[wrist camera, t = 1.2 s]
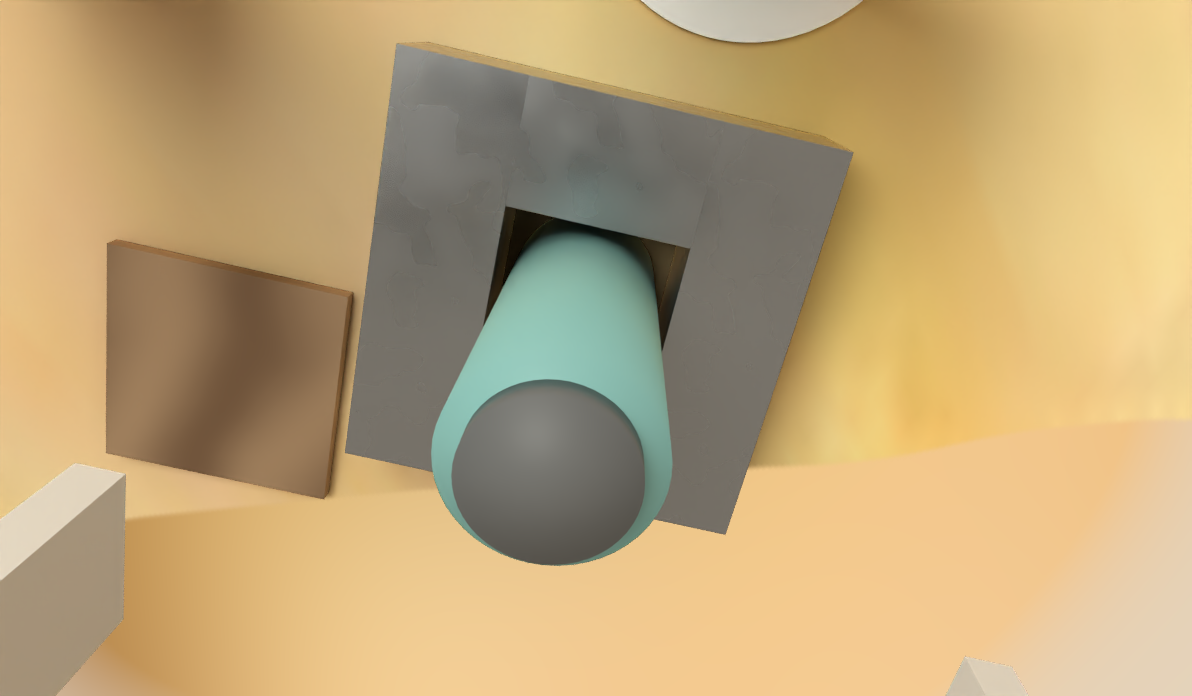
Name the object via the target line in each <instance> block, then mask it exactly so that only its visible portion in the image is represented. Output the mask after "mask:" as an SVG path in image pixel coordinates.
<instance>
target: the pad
mask: <svg viewBox="0 0 1192 696" xmlns="http://www.w3.org/2000/svg"><path fill="white" fill-rule="evenodd" d="M352 296H353V292H349V291H344V290H340V289H335V288H331V287H326V286H322V285H317V284H313V283H309V282H304V281H300V280H295V279H291V278H286V277H282V276H277V275H273V274H268V273H264V272H259V271H255V270H250V269H246V268H242V267H237V266H233V265H228V264H224V263H219V262H215V261H210V260H206V259H201V258H197V257H192V256H188V255H184V254H179V253H175V252H170V251H166V250H161V249H157V248H152V247H148V246H143V245H139V244H134V243H130V242H125V241H121V240H114V241H112V242H109V243H107V369H106V453H108V454H113V455H118V456H122V457H127V458H132V459H136V460H141V461H146V462H151V463H155V464H160V465H165V466H169V467H174V468H179V469H184V470H188V471H193V472H198V473H202V474H207V475H212V476H217V477H221V478H226V479H231V480H235V481H240V482H245V483H250V484H254V485H259V486H264V487H268V488H273V489H278V490H283V491H287V492H292V493H297V494H301V495H306V496H311V497H316V498H320V499H324V498H325V497H326V495H327V494H328V492H329V487H330V478H331V470H332V462H333V453H334V445H335V437H336V429H337V420H338V412H339V404H340V395H341V387H342V379H343V371H344V362H345V354H346V346H347V337H348V329H349V321H350V313H351V304H352Z"/></svg>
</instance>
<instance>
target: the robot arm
mask: <svg viewBox="0 0 1192 696" xmlns="http://www.w3.org/2000/svg"><path fill="white" fill-rule="evenodd" d="M125 487H126V474H124V473H119V472H115V471H110V470H106V469H101V468H96V467H92V466H87V465H83V464H78V463H74V464H73V465H71V466H70V467H69V468H67V469H66V470H65V471H63V472H62V473H61V474H59V475H58V476H57V477H55V478H54V479H53V480H51V481H50V482H49V483H47V484H46V485H45V486H44V487H42V488H41V489H40V490H38V491H37V492H36V493H34V494H33V495H32V496H30V497H29V498H28V499H26V500H25V501H24V502H22V503H21V504H20V505H18V506H17V507H16V508H14V509H13V510H12V511H11V512H9V513H8V514H7V515H5V516H4V517H3V518H1V519H0V696H56V695H57V694H58V693H59V691H60V690H61V689H62V688H63V687H64V686H65V685H66V683H67V682H68V681H69V680H70V679H71V678H72V677H73V676H74V674H75V673H76V672H77V671H78V670H79V669H80V668H81V666H82V665H83V664H84V663H85V662H86V661H87V660H88V658H89V657H90V656H91V655H92V654H93V653H94V652H95V651H96V649H97V648H98V647H99V646H100V645H101V644H102V643H103V642H104V640H105V639H106V638H107V637H108V636H109V634H111V632H112V631H113V630H114V629H115V628H116V627H117V626H118V625H119V623H120V622H121V621H122V620H123V610H124V609H123V608H124V548H125V547H124V546H125ZM946 696H1029V694H1028V693H1027V691H1026V689H1025V688H1024V686H1023V685H1022V683H1021V681H1020V679H1019V678H1018V676H1017V674H1016V673H1015V671H1014V669H1013V667H1011V666H1007V665H1002V664H997V663H993V662H988V661H984V660H979V659H975V658H970V657H964V659H963V661H962V663H961V665H960V667H959V669H958V671H957V673H956V676H955V678H954V679H953V682H952V684H951V685H950V688H949V690H948V692H947V694H946Z"/></svg>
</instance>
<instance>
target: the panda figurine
mask: <svg viewBox="0 0 1192 696" xmlns="http://www.w3.org/2000/svg"><path fill="white" fill-rule="evenodd" d="M641 1H642V2H643V3H644V4H646V5H647V6H648V7H649V8H650V9H651V10H653V11H654V12H656V13H657V14H659V15H660V16H662V17H663V18H664V19H666V20H668V21H670V22H672V23H673V24H675V25H677V26H679V27H681V28H683V29H686V30H688V31H690V32H693V33H696V34H699V35H702V36H705V37H709V38H713V39H718V40H723V41H732V42H766V41H775V40H780V39H785V38H790V37H794V36H797V35H800V34H803V33H806V32H809V31H812V30H814V29H816V28H818V27H821V26H823V25H825V24H827V23H829V22H831V21H833V20H835V19H836V18H838V17H840V16H842V15H843V14H845V13H846V12H848V11H849V10H851V9H852V8H853V7H855V6H856V5H858V4H859V3H860V2H862V1H863V0H641Z"/></svg>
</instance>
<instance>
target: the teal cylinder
mask: <svg viewBox="0 0 1192 696" xmlns="http://www.w3.org/2000/svg"><path fill="white" fill-rule="evenodd" d="M431 459H432V470H433V475H434V479H435V483H436V485H437V488H438V491H439V494H440V496H441V498H442V500H443V502H444V504H445V505H446V507H447V509H448V510H449V511H450V513H451V514H452V516H453V517H454V518H455V520H456V521H457V522H458V523H459V524H460V525H461V526H462V527H463V528H464V529H465V530H466V531H467V532H468V533H469V534H470V535H472V536H473V537H474V538H475V539H477V540H478V541H480V542H481V543H482V544H484V545H485V546H487V547H489V548H491V549H493V550H495V551H497V552H498V553H500V554H503V555H505V556H508V557H511V558H513V559H516V560H520V561H524V562H528V563H534V564H540V565H554V566H561V565H574V564H579V563H585V562H589V561H593V560H596V559H599V558H602V557H605V556H607V555H609V554H612V553H614V552H616V551H618V550H619V549H621V548H623V547H625V546H626V545H628V544H629V543H630V542H631V541H633V540H634V539H636V538H637V537H638V536H639V535H640V534H641V533H642V532H643V531H644V530H645V529H646V528H647V527H648V526H649V525H650V524H651V522H652V521H653V520H654V518H655V517H656V516H657V514H658V512H659V511H660V509H661V507H662V505H663V503H664V501H665V498H666V496H667V493H668V490H669V486H670V482H671V477H672V463H673V462H672V450H671V440H670V430H669V420H668V410H667V400H666V390H665V380H664V370H663V360H662V351H661V341H660V331H659V321H658V311H657V301H656V291H655V281H654V271H653V266H652V261H651V259H650V256H649V253H648V251H647V249H646V247H645V245H644V244H643V242H642V241H641V240H640V238H639V237H638V236H633V235H629V234H625V233H620V232H616V231H612V230H607V229H603V228H599V227H594V226H590V225H586V224H581V223H577V222H573V221H568V220H564V219H560V218H553V219H551V220H549V221H548V222H546V223H544V224H543V225H542V226H540V227H539V228H538V229H537V230H536V231H535V232H534V233H533V234H532V235H531V236H530V237H529V239H528V240H527V241H526V243H525V245H524V246H523V248H522V250H521V252H520V254H519V256H518V258H517V260H516V262H515V264H514V266H513V268H512V270H511V272H510V274H509V276H508V278H507V280H506V282H505V284H504V286H503V288H502V290H501V293H500V295H499V297H498V299H497V301H496V303H495V305H494V307H493V309H492V311H491V313H490V315H489V317H488V319H487V321H486V323H485V325H484V327H483V329H482V331H481V333H480V335H479V337H478V339H477V341H476V343H475V345H474V347H473V349H472V351H471V353H470V355H469V357H468V359H467V361H466V363H465V365H464V367H463V369H462V371H461V373H460V375H459V377H458V379H457V381H456V383H455V385H454V387H453V389H452V391H451V393H450V395H449V398H448V400H447V402H446V404H445V406H444V408H443V410H442V412H441V414H440V416H439V419H438V421H437V424H436V427H435V431H434V435H433V439H432V449H431Z"/></svg>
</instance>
